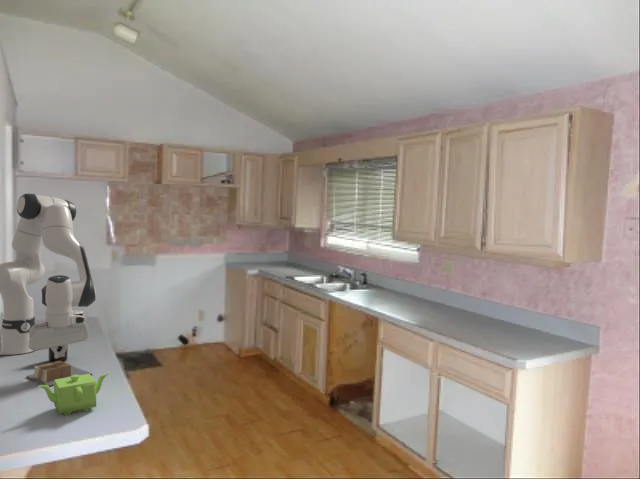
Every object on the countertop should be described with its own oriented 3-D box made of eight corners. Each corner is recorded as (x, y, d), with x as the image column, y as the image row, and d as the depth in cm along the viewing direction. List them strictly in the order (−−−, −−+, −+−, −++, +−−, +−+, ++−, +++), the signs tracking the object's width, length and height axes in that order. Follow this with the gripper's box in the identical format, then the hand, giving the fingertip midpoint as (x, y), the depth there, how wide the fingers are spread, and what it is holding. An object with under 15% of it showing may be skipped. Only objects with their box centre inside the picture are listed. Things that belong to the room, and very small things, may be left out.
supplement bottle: (59, 363, 193) (59, 334, 193) (44, 362, 195) (44, 333, 194) (71, 358, 200) (71, 330, 199) (57, 357, 201) (56, 329, 201)
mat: (26, 377, 177) (26, 375, 177) (70, 366, 190) (69, 365, 190) (48, 387, 168) (48, 385, 168) (92, 375, 181) (92, 373, 181)
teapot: (37, 417, 144) (37, 382, 144) (64, 399, 158) (64, 367, 157) (87, 419, 143) (86, 384, 143) (109, 401, 157) (109, 369, 156)
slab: (59, 371, 183) (34, 377, 176) (59, 360, 183) (34, 366, 176) (70, 375, 179) (45, 382, 171) (70, 364, 178) (45, 371, 171)
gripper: (33, 326, 168) (34, 366, 168) (90, 317, 184) (90, 352, 185) (25, 323, 171) (25, 362, 172) (81, 314, 188) (81, 349, 189)
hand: (59, 357), depth 179 cm, fingers closed
